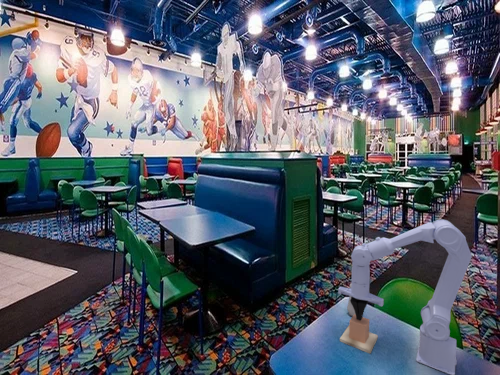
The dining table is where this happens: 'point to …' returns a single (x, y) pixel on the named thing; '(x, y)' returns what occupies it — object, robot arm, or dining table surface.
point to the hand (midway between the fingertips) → (359, 318)
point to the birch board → (359, 345)
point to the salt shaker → (350, 306)
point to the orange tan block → (359, 329)
